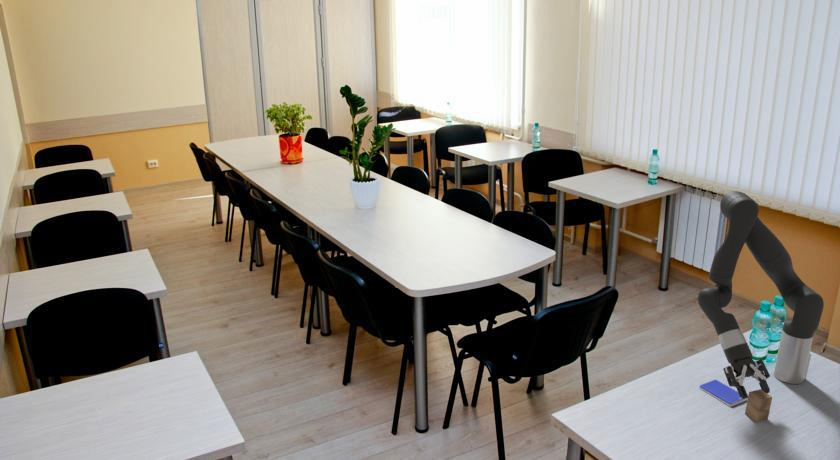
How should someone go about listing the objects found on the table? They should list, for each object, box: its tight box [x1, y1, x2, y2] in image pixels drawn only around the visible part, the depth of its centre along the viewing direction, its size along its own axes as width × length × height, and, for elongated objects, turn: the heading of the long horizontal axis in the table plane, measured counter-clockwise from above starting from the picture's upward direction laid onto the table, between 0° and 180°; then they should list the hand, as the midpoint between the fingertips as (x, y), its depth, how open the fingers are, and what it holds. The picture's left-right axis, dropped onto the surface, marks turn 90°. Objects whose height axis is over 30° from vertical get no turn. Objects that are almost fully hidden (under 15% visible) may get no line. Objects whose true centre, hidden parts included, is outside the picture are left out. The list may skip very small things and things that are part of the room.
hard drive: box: [698, 379, 748, 407], centre depth 227 cm, size 2×8×12 cm
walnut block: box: [744, 388, 773, 423], centre depth 214 cm, size 5×5×8 cm
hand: (756, 395), depth 214 cm, fingers open, 8 cm apart
